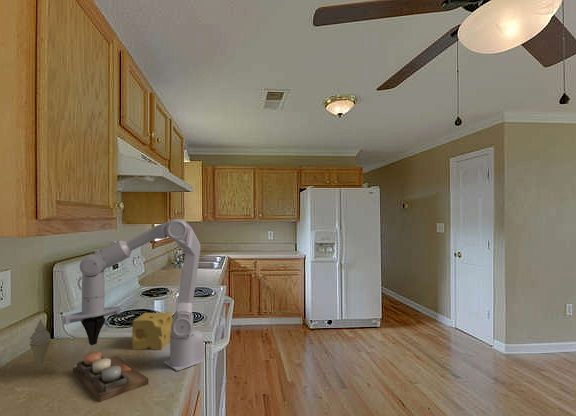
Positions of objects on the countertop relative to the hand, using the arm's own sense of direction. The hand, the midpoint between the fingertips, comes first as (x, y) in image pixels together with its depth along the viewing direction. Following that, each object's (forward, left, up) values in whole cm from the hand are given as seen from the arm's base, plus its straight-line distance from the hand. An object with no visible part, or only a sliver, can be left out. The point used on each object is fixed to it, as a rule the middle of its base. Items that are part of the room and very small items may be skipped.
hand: (92, 343), depth 102 cm
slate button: (0, +14, -5) cm, 15 cm away
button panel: (-2, +7, -8) cm, 11 cm away
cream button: (0, +7, -5) cm, 9 cm away
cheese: (-22, -9, -9) cm, 25 cm away
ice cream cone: (+10, -13, -9) cm, 18 cm away
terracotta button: (0, 0, -5) cm, 5 cm away
